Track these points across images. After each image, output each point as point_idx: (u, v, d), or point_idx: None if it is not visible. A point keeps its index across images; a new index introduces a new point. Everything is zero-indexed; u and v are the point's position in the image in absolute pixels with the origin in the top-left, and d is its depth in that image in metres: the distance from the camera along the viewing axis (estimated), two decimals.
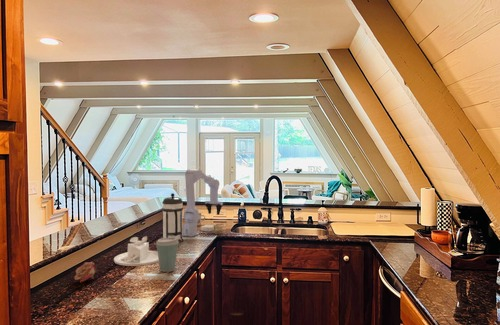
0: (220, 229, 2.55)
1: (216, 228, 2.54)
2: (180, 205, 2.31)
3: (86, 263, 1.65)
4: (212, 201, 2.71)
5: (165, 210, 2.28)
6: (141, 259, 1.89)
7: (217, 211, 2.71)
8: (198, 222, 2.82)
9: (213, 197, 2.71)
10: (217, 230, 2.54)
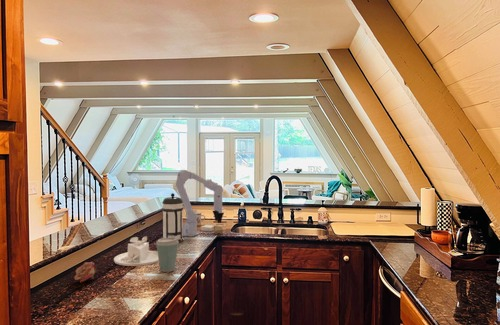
0: (220, 229, 2.55)
1: (216, 228, 2.54)
2: (180, 205, 2.31)
3: (86, 263, 1.65)
4: (214, 208, 2.55)
5: (165, 210, 2.28)
6: (141, 259, 1.89)
7: (217, 219, 2.52)
8: (198, 222, 2.82)
9: (215, 204, 2.54)
10: (217, 230, 2.54)
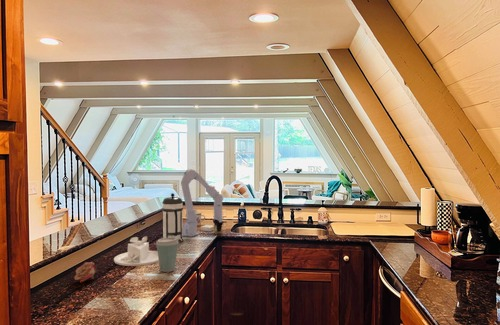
0: None
1: (216, 228, 2.54)
2: (180, 205, 2.31)
3: (86, 263, 1.65)
4: (214, 217, 2.55)
5: (165, 210, 2.28)
6: (141, 259, 1.89)
7: (217, 228, 2.53)
8: (198, 222, 2.82)
9: (215, 213, 2.54)
10: None
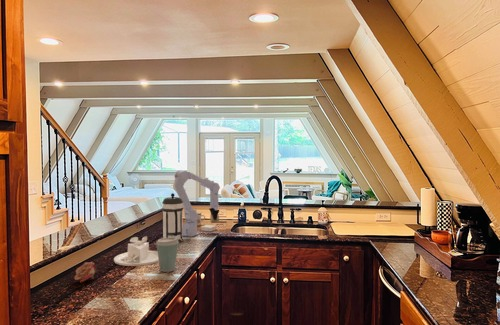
0: (217, 218, 2.58)
1: None
2: (180, 205, 2.31)
3: (86, 263, 1.65)
4: (210, 205, 2.59)
5: (165, 210, 2.28)
6: (141, 259, 1.89)
7: (213, 216, 2.57)
8: (198, 222, 2.82)
9: (211, 201, 2.58)
10: (213, 219, 2.58)
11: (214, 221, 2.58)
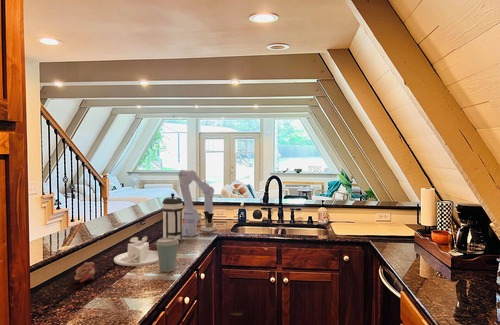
0: (211, 222, 2.64)
1: (207, 221, 2.63)
2: (180, 205, 2.31)
3: (86, 263, 1.65)
4: None
5: (165, 210, 2.28)
6: (141, 259, 1.89)
7: None
8: (198, 222, 2.82)
9: (205, 204, 2.64)
10: (207, 223, 2.64)
11: (208, 225, 2.64)
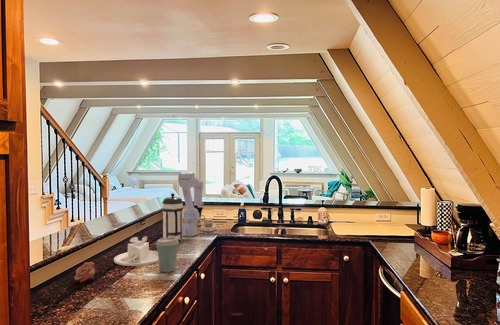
0: (210, 222, 2.64)
1: (206, 221, 2.63)
2: (180, 205, 2.31)
3: (86, 263, 1.65)
4: (194, 203, 2.64)
5: (165, 210, 2.28)
6: (141, 259, 1.89)
7: None
8: (198, 222, 2.82)
9: (194, 199, 2.63)
10: (207, 223, 2.64)
11: (208, 225, 2.64)
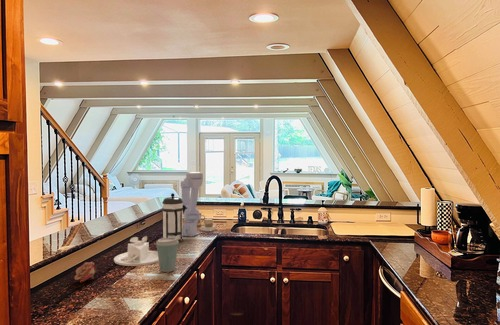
0: (210, 222, 2.64)
1: (206, 221, 2.63)
2: (180, 205, 2.31)
3: (86, 263, 1.65)
4: None
5: (165, 210, 2.28)
6: (141, 259, 1.89)
7: None
8: (198, 222, 2.82)
9: (182, 199, 2.63)
10: (207, 223, 2.64)
11: (208, 225, 2.64)
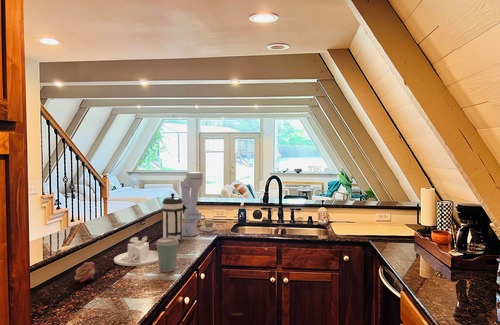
0: (211, 222, 2.64)
1: (207, 221, 2.63)
2: (180, 205, 2.31)
3: (86, 263, 1.65)
4: None
5: (165, 210, 2.28)
6: (141, 259, 1.89)
7: None
8: (198, 222, 2.82)
9: (182, 199, 2.63)
10: (207, 223, 2.64)
11: (208, 225, 2.64)
